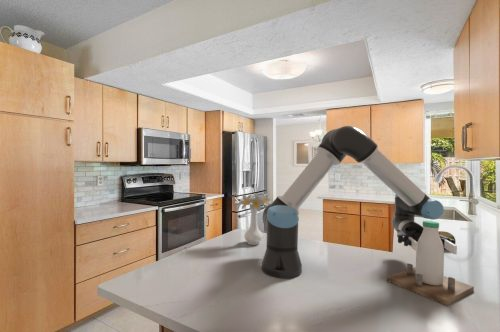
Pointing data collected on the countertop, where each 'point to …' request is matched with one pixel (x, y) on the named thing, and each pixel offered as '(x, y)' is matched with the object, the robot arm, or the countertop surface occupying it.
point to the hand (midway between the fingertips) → (435, 248)
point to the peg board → (431, 286)
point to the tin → (446, 235)
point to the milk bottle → (430, 255)
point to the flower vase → (253, 216)
